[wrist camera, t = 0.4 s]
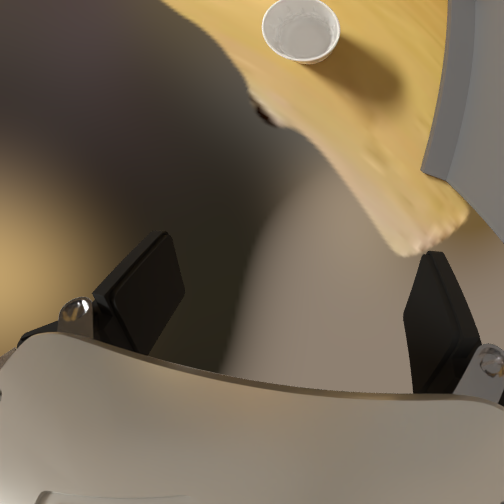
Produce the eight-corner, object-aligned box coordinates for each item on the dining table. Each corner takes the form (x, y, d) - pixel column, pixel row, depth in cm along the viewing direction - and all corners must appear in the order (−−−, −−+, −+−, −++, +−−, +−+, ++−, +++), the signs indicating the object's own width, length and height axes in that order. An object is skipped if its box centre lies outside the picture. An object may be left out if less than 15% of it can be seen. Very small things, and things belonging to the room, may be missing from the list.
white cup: (346, 32, 27) (352, 14, 19) (322, 78, 32) (321, 73, 24) (291, 9, 27) (279, -14, 19) (268, 54, 32) (250, 44, 23)
